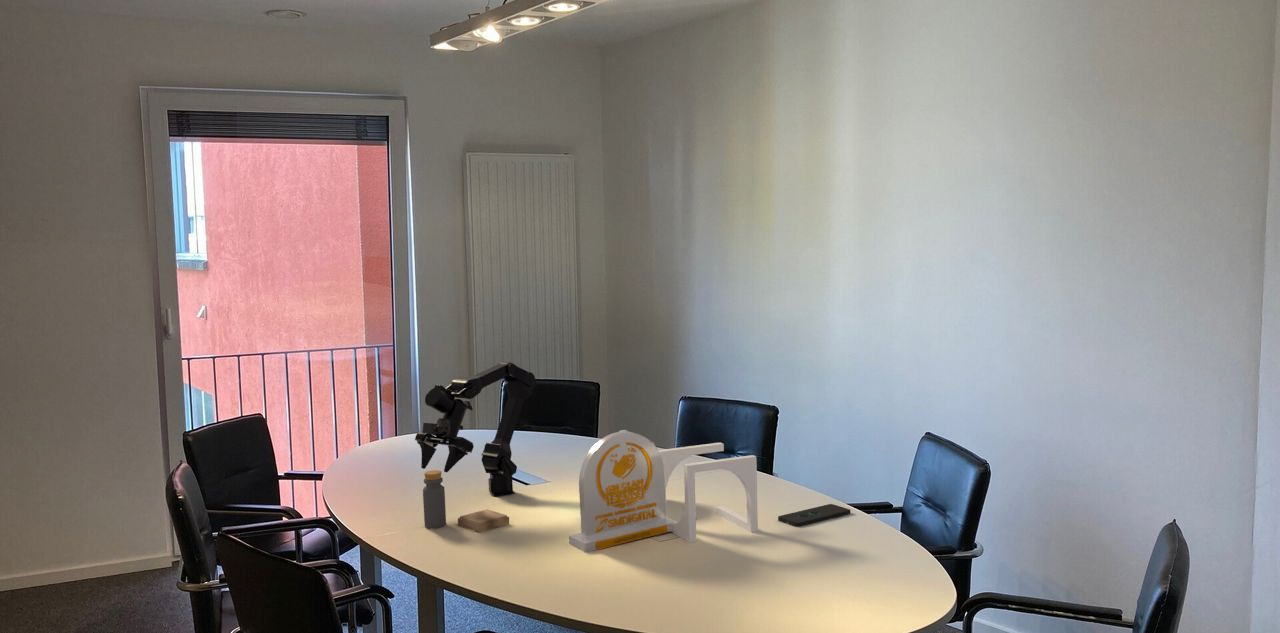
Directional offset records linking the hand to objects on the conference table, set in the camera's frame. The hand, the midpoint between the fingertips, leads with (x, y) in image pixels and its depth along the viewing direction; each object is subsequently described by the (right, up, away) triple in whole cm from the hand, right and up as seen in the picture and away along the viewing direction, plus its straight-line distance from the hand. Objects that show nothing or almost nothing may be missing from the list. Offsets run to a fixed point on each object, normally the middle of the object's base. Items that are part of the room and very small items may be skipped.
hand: (434, 470), depth 284 cm
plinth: (+16, -14, -10) cm, 23 cm away
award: (+55, -14, -25) cm, 62 cm away
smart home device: (+107, -12, -12) cm, 108 cm away
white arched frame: (+77, -13, -18) cm, 80 cm away
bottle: (+2, -14, -9) cm, 17 cm away
